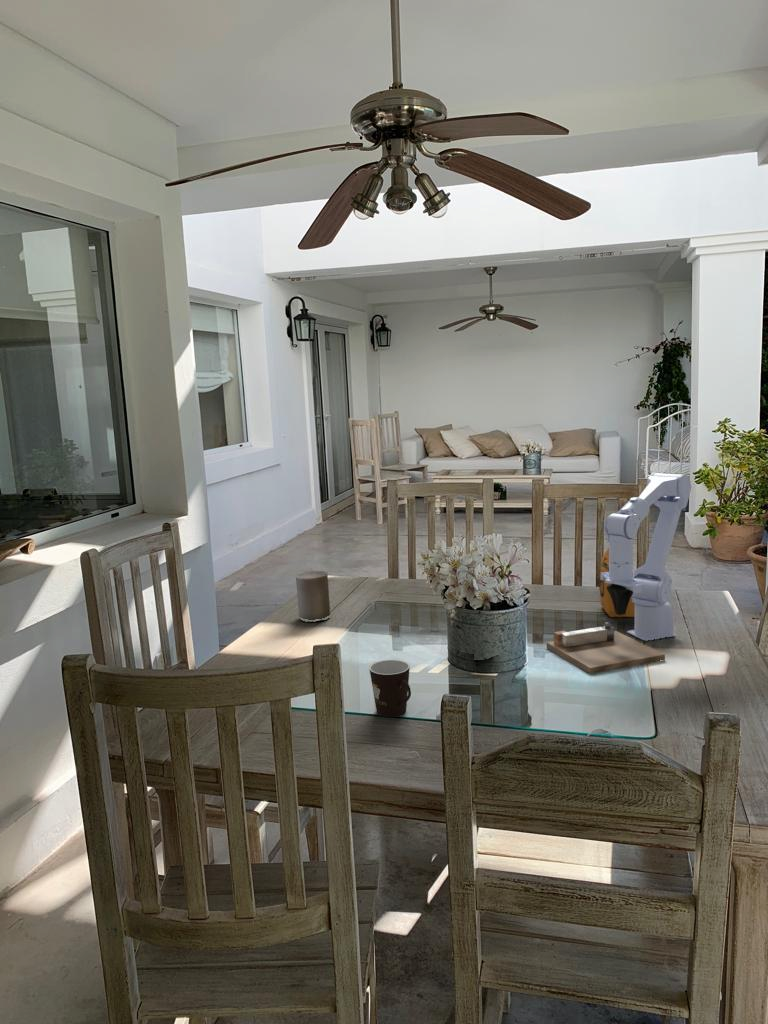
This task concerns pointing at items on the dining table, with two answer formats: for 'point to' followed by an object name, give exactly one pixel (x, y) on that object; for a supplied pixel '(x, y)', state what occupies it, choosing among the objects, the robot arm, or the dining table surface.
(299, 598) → the pillar candle
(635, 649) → the brown wooden board
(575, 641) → the bar
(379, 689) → the coffee mug
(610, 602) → the coffee package
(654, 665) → the dining table surface
